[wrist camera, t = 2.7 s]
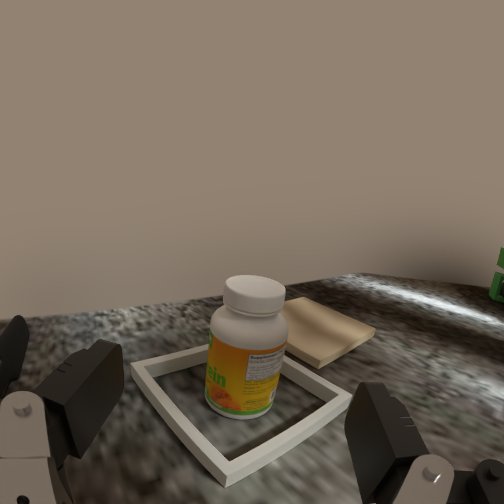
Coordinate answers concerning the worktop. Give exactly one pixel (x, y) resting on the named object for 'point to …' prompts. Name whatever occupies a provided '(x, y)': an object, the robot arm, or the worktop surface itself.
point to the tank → (498, 281)
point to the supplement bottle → (246, 347)
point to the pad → (321, 332)
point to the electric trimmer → (12, 351)
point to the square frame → (202, 447)
